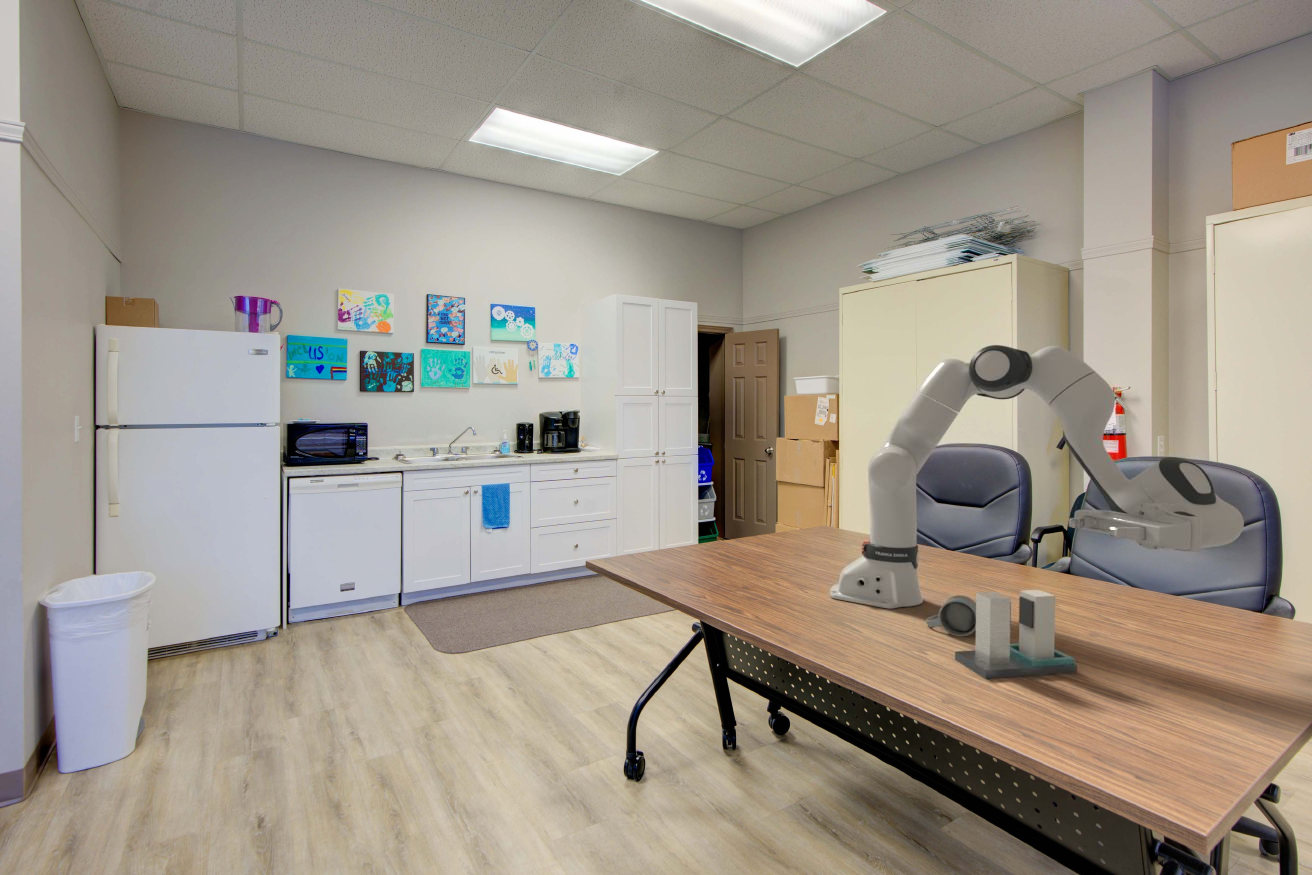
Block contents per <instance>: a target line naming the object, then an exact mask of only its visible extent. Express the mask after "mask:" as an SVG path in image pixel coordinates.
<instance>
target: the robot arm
mask: <svg viewBox="0 0 1312 875" xmlns="http://www.w3.org/2000/svg"><path fill="white" fill-rule="evenodd" d="M1025 390H1030V391H1032V392H1034V393H1035V394H1037V395H1039V397H1040V398H1041V399H1042V400H1044V402H1045V403H1046V404H1047V405H1048V406H1049V407H1050V408H1051V409H1052V410H1053V412H1054V413H1055V415H1056V416H1057V417H1058V420H1059V422H1060V424H1061V426H1062V430H1063V431H1062V437H1063V440H1064V442H1065V444H1066V446H1067V448H1068V449H1069V450H1070V452H1071V453H1072V454H1073V456H1074V458H1075V459H1076V461H1077V462H1078V463H1079V464H1080V466H1081V468H1083V470H1084V472H1085V473H1086V474H1087V475H1088V477H1089V479H1090V480H1091V481H1092V483H1093V484H1094V486H1096V488H1097V489H1098V490H1099V492H1100V494H1101V495H1102V497H1103V499H1104V500H1105V503H1106V505H1107V507H1108V509H1109V510H1104V509H1078V510H1075V511H1074V517H1070V518H1068V527H1069V528H1073V529H1082V530H1086V531H1090V532H1094V533H1099V534H1104V535H1107V536H1110V537H1113V538H1117V539H1126V540H1130V541H1134V542H1136V543H1137V544H1138V545H1140V546H1141V547H1142V548H1145V549H1147V550H1154V551H1155V550H1164V551H1165V550H1166V551H1167V550H1174V551H1182V552H1189V553H1197V552H1201V551H1200V550H1201V549H1205V548H1214V547H1215V548H1216V547H1221V546H1226V545H1228V544H1231V543H1233V542H1234V541H1236V540H1237V539H1238V538H1239V537H1240V536H1241V533H1242V532H1243V529H1244V527H1245V526H1244V525H1245V523H1244V522H1245V521H1244V517H1243V515H1242V513H1241V511H1240V510H1239V509H1238V508H1236V506H1233V505H1232V504H1231V503H1228V502H1226V501H1225V500H1223V499H1222V498H1221V497H1219V495H1217V494H1216V492H1215V489H1214V487H1213V483H1212V480H1211V478H1210V477H1209V475H1208V474H1207V473H1206V471H1205V470H1204V469H1203V468H1202V467H1201V466H1199V465H1198V464H1196V463H1194V462H1192V461H1189V460H1187V459H1184V458H1180V457H1176V456H1175V457H1174V456H1167V457H1166V456H1165V457H1163V458H1161V459H1160V460H1158V461H1157V462H1155V463H1153V464H1152V465H1150V466H1148V467H1147V468H1146V469H1144V470H1143V471H1142V472H1140V473H1139V474H1137V475H1135V476H1134V477H1132V478H1131V479H1129V478H1127V477H1126V475H1125V474H1124V473H1123V471H1122V470H1121V469H1120V467H1119V466H1118V465H1117V463H1116V462H1115V461H1114V459H1113V458H1112V457H1111V456H1110V454H1109V453H1108V452H1107V450H1106V448H1105V444H1104V439H1103V438H1104V433H1105V430H1106V427H1107V424H1108V423H1109V421H1110V419H1111V417H1112V415H1113V413H1114V410H1115V404H1116V396H1115V393H1114V390H1113V388H1112V387H1111V386H1110V384H1109V383H1108V382H1107V381H1106V380H1105V379H1104V378H1103V377H1102V376H1101V375H1100V374H1099V373H1097V371H1096V370H1094V369H1093V368H1092V367H1091V366H1090V365H1088V364H1087V363H1086V362H1085V360H1082V359H1081V358H1080V357H1078V356H1077V355H1075V354H1073V353H1072V352H1071V351H1069V350H1068V349H1066V348H1064V347H1062V346H1060V345H1049V346H1045V347H1042V348H1040V349H1039V350H1037V351H1036V352H1034V353H1032V354H1031V355H1030V353H1029V352H1027V351H1025V350H1021V349H1017V348H1015V347H1010V346H1007V345H999V344H994V345H993V344H992V345H987V346H985V347H983V348H981V349H979V350H977V352H975V354H974V355H973V356H972V358H971V359H970V362H966V361H963V360H960V359H955V358H947V359H943V360H941V361H940V362H939V363H938V364H937V365H935V367H934V368H933V369H932V370H931V371H930V372H929V374H928V375H927V376H926V378H925V379H923V381H922V383H921V384H920V386H919V387H918V388H917V390H916V391H915V393H914V394H913V396H912V397H911V399H910V401H909V402H908V404H907V405H906V407H904V409H903V411H902V412H901V414H900V416H899V417H898V419H897V421H896V422H895V424H894V426H893V428H892V429H891V430H890V433H889V435H888V436H887V437H886V439H885V441H884V443H883V444H882V445H881V447H880V448H879V450H878V451H877V452H876V453H874V454H873V456H872V457H871V458H870V460H869V463H868V467H867V468H868V469H867V472H868V475H867V476H868V498H869V512H870V513H869V514H870V516H869V517H870V519H869V524H870V526H869V527H870V528H869V539H870V540H868V539H867V540H866V539H865V540H864V541H863V542H862V544H861V556H860V557H858V558H856V559H855V560H853V561H852V562H851V563H849V564H848V565H846V566H845V567H844V568H842V570H841V572H840V575H839V580H838V582H837V583H836V584H834V585H832V586H831V588H830V589H829V595H830V597H831V598H833V599H835V600H841V601H846V602H852V603H857V604H862V605H867V606H873V607H877V608H882V609H883V608H884V609H896V608H902V607H913V606H919V605H920V604H922V603H923V602H924V599H923V597H922V594H921V589H920V583H919V582H920V581H919V576H918V567H919V562H920V561H919V558H920V556H919V555H920V554H919V553H920V552H919V546H918V544H917V528H918V527H917V526H918V524H917V523H918V522H917V518H918V517H917V515H918V514H917V513H918V511H917V475H918V474H919V472H920V471H921V469H922V468H923V466H924V465H925V464H926V462H927V461H928V459H929V457H930V456H931V454H932V453H933V451H934V450H935V449H936V447H937V446H938V445H939V443H940V442H941V440H942V439H943V438H944V435H945V434H947V431H948V429H949V428H950V427H951V425H952V424H953V422H954V421H955V419H956V418H957V417H958V415H959V413H960V412H961V411H962V409H963V407H964V406H965V404H966V403H967V402H968V401H969V399H971V397H973V396H975V395H977V396H979V397H984V398H985V397H986V398H991V399H994V400H1009V399H1014V398H1016V397H1018V396H1019V395H1021V394H1022V393H1023V392H1024V391H1025Z"/></svg>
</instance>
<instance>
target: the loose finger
mask: <svg viewBox="0 0 1312 875" xmlns="http://www.w3.org/2000/svg"><path fill="white" fill-rule="evenodd" d="M1018 603H1019V606H1018V610H1019V611H1018V613H1019V614H1018V625H1019V626H1018V627H1019V628H1018V629H1019V631H1018V632H1019V633H1018V643H1019V652H1021V653H1023V654H1025V655H1027V656H1029V657H1030V658H1032V659H1042V658H1054V649H1055V633H1056V632H1055V627H1056V622H1055V621H1056V595H1054V594H1051V593H1049V592H1046V591H1043V590H1041V589H1028V590H1027V589H1025V590H1020V591H1019V602H1018Z"/></svg>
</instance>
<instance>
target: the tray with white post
mask: <svg viewBox="0 0 1312 875" xmlns="http://www.w3.org/2000/svg"><path fill="white" fill-rule="evenodd" d="M975 594H976V595H975V598H976V599H975V603H976V630H975V649H974V650H959V651H954V660H956V661H957V662H958V663H960V664H962V665H964V666H965V667H966V668H968V669H969V670H971V671H972V672H975V673H976V674H978V675H979V676H981V677H982V678H984V679H986V680H987V679H988V680H990V679H991V680H992V679H1005V678H1017V677H1018V678H1019V677H1020V678H1021V677H1032V676H1033V677H1034V676H1035V677H1036V676H1050V675H1067V674H1068V675H1069V674H1077V673H1078V664H1076V659H1075V658H1074V657H1072V656H1070V655H1069V654H1066V653H1063V652H1061V651H1060V650H1058V649H1055V648H1054V658H1042V659H1032V658H1030V657H1029V656H1027V655H1025V654H1023V653H1021V652H1019V642H1017V643H1011V630H1012V629H1011V628H1012V626H1011V625H1012V623H1011V622H1012V621H1011V619H1012V601H1011V597H1009V596H1007V595H1004V594H1003V593H1000V592H998V591H989V592H988V591H987V592H986V591H985V592H983V591H982V592H976V593H975Z"/></svg>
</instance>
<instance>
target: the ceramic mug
mask: <svg viewBox="0 0 1312 875" xmlns="http://www.w3.org/2000/svg"><path fill="white" fill-rule="evenodd" d="M925 623H926V626H927V627H928V628H937V627H942V628H943V630H944V631H945V632H947V633H948V634H949V635H952V636H955V637H959V638H960V637H968V636H970V635H971V634H973V633H974V632H976V601H974V599H972V598H971V597H969V596H966V595H959V594H958V595H957V594H956V595H954V596H951V597H950V598H949V597H948V599H947V600H946V601H945V602H944V603H943V604H942V605H941V606H940V608H939V611H938V614H934V615H932V616H930V617H928V618H926V619H925Z"/></svg>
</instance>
